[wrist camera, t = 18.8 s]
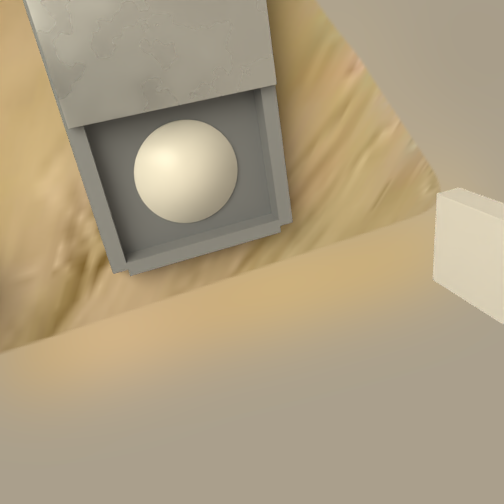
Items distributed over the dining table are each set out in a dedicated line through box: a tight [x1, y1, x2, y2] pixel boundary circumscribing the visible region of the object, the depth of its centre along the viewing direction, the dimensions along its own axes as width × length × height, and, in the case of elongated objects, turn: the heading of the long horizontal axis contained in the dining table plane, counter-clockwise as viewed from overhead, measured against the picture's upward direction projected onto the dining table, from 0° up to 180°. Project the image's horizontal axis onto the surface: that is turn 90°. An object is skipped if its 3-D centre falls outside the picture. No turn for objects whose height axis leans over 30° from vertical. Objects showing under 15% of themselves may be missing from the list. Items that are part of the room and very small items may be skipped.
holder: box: [23, 0, 293, 276], centre depth 30 cm, size 13×18×3 cm
